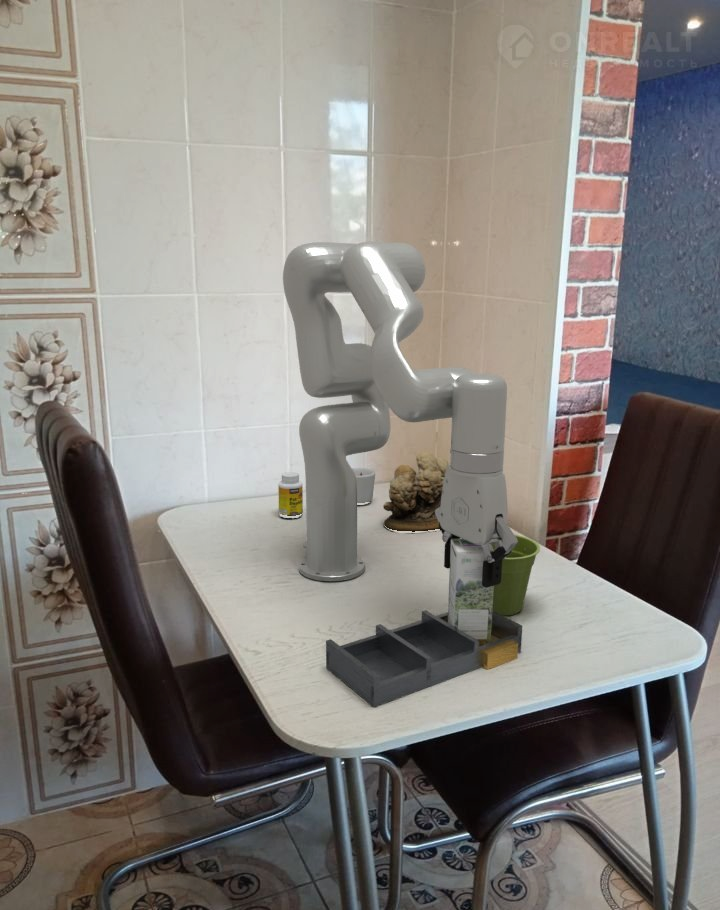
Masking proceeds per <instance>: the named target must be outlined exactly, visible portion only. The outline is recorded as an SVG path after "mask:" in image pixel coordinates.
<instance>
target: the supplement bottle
mask: <svg viewBox="0 0 720 910" xmlns="http://www.w3.org/2000/svg"><path fill="white" fill-rule="evenodd" d="M299 474H300V473H298V472H296V471H287V472H283V473H281V481H279V482H278V486H277V487H278V488H277V489H278V514H279V513H280V514H282V515H287V516H296V515H300V514H302V513H304V509H303V508H304V506H303V504H304V503H303V502H304V501H303V500H304V499H303V482H302V481H300V475H299ZM302 515H303V514H302Z"/></svg>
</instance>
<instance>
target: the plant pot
mask: <svg viewBox="0 0 720 910" xmlns="http://www.w3.org/2000/svg"><path fill="white" fill-rule="evenodd" d="M513 534H514V535H515V536H516V538H517V540H518V543H517V544H516V545H515V547H514V548H513V549H512V551H511V553H510V554H508V555H507V556H506V558H505V559H503V560H502V574H501V583H500V584H498V585H494V587H493V604H492V610H493V611H495V612H497V613H499V614H501V615H503V616H506V617H507V616H513V615H516V614H517V613H518V612H521V611H522V610H523V608H524V602H525V598H526V594H527V591H528V586H529V580H530V577H531V573H532V569H533V566H534V564H535V561H536V557H537V555H538V554H539V553H540V552H541V547H540V544H539V543H538V542H537V541H535V540H534V539H532V538H529V537H527V536H524V535H523V536H522V535H518V534H515V533H513ZM491 539H492V538H491ZM501 541H502V543H503V540H501ZM491 545H492V547H493V550H494V551H495V550H496V549H495V546H494V543H492V544H491Z"/></svg>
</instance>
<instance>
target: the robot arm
mask: <svg viewBox="0 0 720 910" xmlns="http://www.w3.org/2000/svg"><path fill="white" fill-rule="evenodd" d="M425 264H426V263H425V260H424V258H423V255H422V254H421V252H419V250H418V249H417V248H416V247H414V246H413V245H412V244H409V243H406V242H396V241H395V242H394V241H393V242H388V241H387V242H386V241H364V242H358V243H347V242H346V243H345V242H328V241H327V242H325V241H323V242H322V241H321V242H319V241H317V242H308V243H304V244H300V245H298V246H296V247H294V248H293V249H292V250H291V251H290V252H289V253H288V255H287V257H286V259H285V262H284V264H283V265H284V266H283V272H282V284H283V292H284V296H285V299H286V302H287V306H288V308H289V311H290V314H291V317H292V320H293V325H294V332H295V340H296V342H295V343H296V349H297V356H298V365H299V372H300V379H301V384H302V388H303V390H304V391H305V392H306V394H307V395H309V396H310V397H313V398H319V399H320V398H321V399H324V398H325V399H326V398H338V397H347V396H350V397H351V401H352V402H347V403H345V402H344V403H342V402H341V403H336V404H335V403H334V404H328V405H321V406H317V407H315V408H312V409H310V410H309V411H307V412H305V414H304V415H303V416H302V418H301V420H300V422H299V432H298V433H299V439H300V443H301V449H302V455H303V462H304V472H305V477H304V478H305V507H306V508H305V511H306V515H305V516H306V517H305V518H306V520H305V521H306V540H304V541H303V542H302V547H303V548H304V549H305V550H306V556H305V557H303V558H302V559H301V560H300V561H299V563H298V570H299V572H300V573H301V575H302V574H303V575H302V576H304V577H305V578H309V579H310V580H314V581H320V582H342V581H347V580H352V579H355V578H357V577H359V576H361V575H362V574H363V573H364V572H365V570H366V562H365V560H364V559H363V558H361V557H360V556H358V506H357V480H356V476H355V473H354V471H353V470H352V466H351V465H350V464H349V461H348V460H347V456H351V455H356V454H362V453H367V452H372V451H378V450H380V449H382V448H383V447H384V446H386V444H387V443H388V440H389V439H390V435H391V413H390V410H391V411H392V413H393V414H394V415H395V416H397V418H398V419H400V420H402V421H404V422H406V423H407V422H408V423H421V422H428V421H434V420H435V421H436V420H441V419H442V420H443V419H451V434H450V448H449V449H450V450H449V453H450V462H449V466H448V467H447V470H446V473H445V477H444V482H443V488H442V496H441V506H440V507H439V508H437V509H436V510H435V514H436V517H437V519H438V522H439V528H440V532H441V534H442V536H441V539H442V541H443V543H444V552H443V553H444V559H443V567H444V569H447V570H450V548H451V539H464V540H466V541H469V542H471V543H474V544H476V545H482V547H483V550H484V553H485V556H486V559H487V560H485V561H483V573H482V586H483V587H485V588H488V587H491V586H494V585H498V584H500V583H501V574H502V560H503V559H505V558H506V556H507V555H508V554H510V553H511V551H512V549H513V548H514V547H515V545H516V544H517V543H518V540H517V538H516V536H515V535H516V534H515V533H514V532H513V531H512V529H511V528H510V526H509V525H508V493H507V492H508V491H507V484H506V483H507V481H506V476H505V475H506V474H505V473H504V457H505V454H504V453H505V437H506V435H505V434H506V433H505V432H506V418H507V417H506V416H507V415H506V414H507V399H508V385H507V382H506V380H505V378H503V377H502V376H499V375H497V374H490V373H479V372H475V371H473V370H470V369H467V368H466V367H465V368H464V367H460V366H449V367H448V366H447V367H433V368H421V369H412V367H411V366H410V364H409V362H408V361H407V359H406V358H405V356H404V354H403V352H402V350H401V348H400V342H402V341H403V340H405V339H406V338H408V337H410V336H411V334H413V333H414V332H415V331H417V329H418V327H419V326H420V325H421V323H422V321H423V318H424V315H425V314H424V308H423V307H424V306H423V305H422V303H421V301H420V299H418V297H417V295H416V293H415V292H417V291H418V290H419V289H421V287H422V285H423V284H424V281H425V278H426V265H425ZM326 293H351V295H352V297H353V298H354V300H355V302H356V304H357V305H358V307H359V308H360V310H361V312H362V313H363V315H364V317H365V320H367V322H368V324H369V326H370V327H371V329H372V331H373V333H374V337H373V340H372V343H371V345H369V344H366V343H359V342H358V343H357V342H356V343H345V342H346V341H345V340H344V334H343V326H342V319H341V317H340V315H339V313H338V310H337V309H336V308H335V306H334V305H333V303H332V302H331V301H330V300H329V299H328V298H327V297H326ZM514 534H515V535H514ZM491 538H492V539H491ZM501 540H503V543H502V541H501ZM492 543H494V546H495V549H496V550H495V551H492V548H491V545H490V544H492Z"/></svg>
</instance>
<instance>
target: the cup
mask: <svg viewBox="0 0 720 910" xmlns="http://www.w3.org/2000/svg"><path fill="white" fill-rule="evenodd" d="M351 468H352V467H351ZM352 470H353V471H354V473H355V476H356V480H357V503H365V502H370V501H371V500H372V501H373V496H374V489H375V481H376V471H374V469H370V468H367V467H366V468H364V467H354V468H352ZM372 501H371V502H372Z"/></svg>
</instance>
